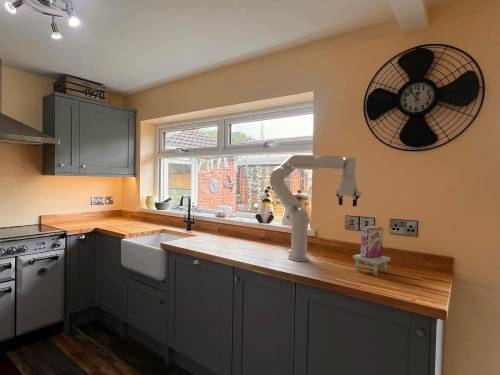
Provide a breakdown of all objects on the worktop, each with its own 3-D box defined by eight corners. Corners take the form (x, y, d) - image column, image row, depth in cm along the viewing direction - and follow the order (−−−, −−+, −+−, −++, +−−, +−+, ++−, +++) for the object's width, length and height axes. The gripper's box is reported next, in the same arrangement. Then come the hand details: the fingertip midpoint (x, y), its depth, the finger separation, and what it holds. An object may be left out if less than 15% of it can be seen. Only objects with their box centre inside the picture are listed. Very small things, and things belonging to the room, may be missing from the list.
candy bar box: (366, 258, 158) (368, 227, 157) (359, 256, 162) (361, 226, 162) (382, 257, 162) (383, 227, 162) (375, 255, 167) (376, 225, 166)
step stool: (352, 270, 163) (352, 255, 163) (365, 266, 172) (366, 252, 172) (376, 276, 152) (377, 261, 152) (389, 272, 161) (390, 257, 161)
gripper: (332, 177, 185) (331, 204, 185) (358, 177, 172) (356, 206, 172) (339, 177, 190) (338, 204, 190) (364, 177, 177) (363, 206, 177)
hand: (347, 205), depth 181 cm, fingers open, 9 cm apart
